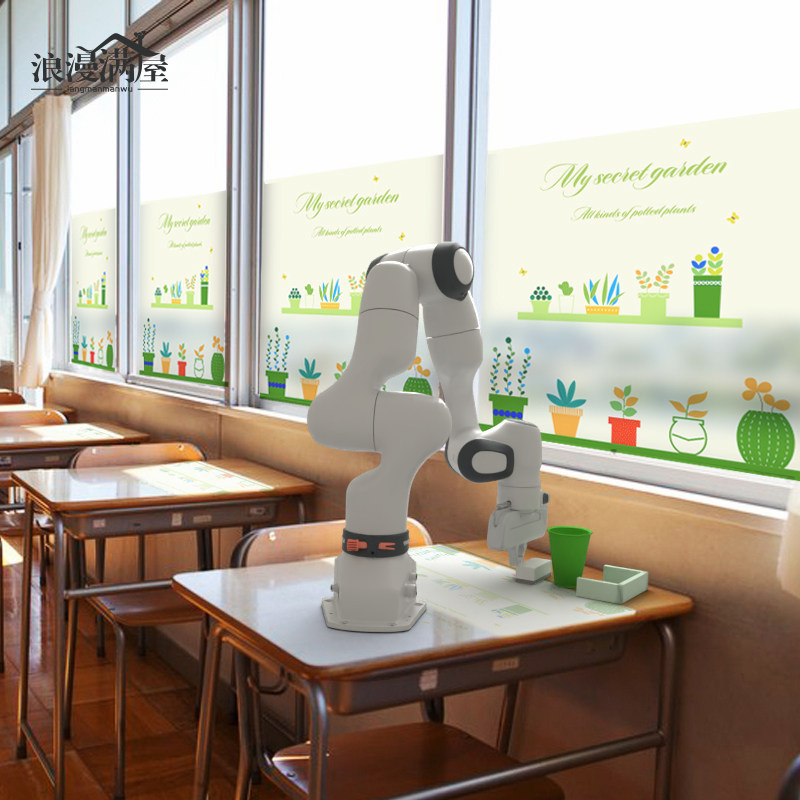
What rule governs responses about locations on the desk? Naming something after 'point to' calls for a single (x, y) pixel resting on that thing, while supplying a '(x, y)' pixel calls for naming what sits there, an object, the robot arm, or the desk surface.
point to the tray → (614, 585)
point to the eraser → (533, 571)
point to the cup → (568, 553)
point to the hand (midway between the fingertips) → (516, 564)
